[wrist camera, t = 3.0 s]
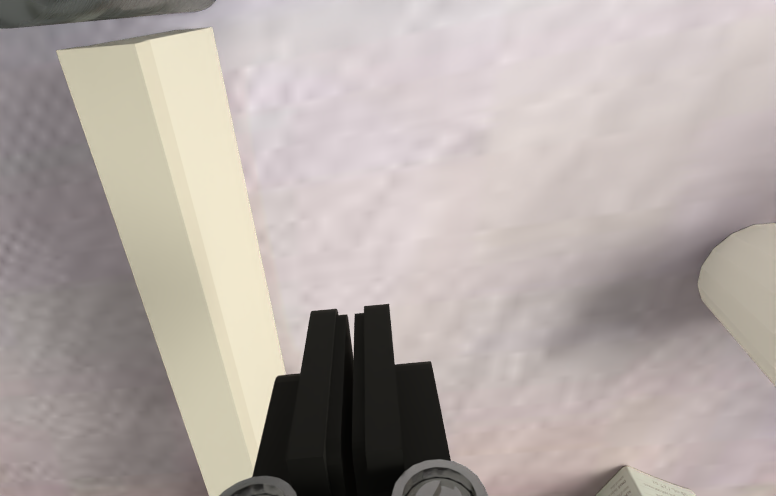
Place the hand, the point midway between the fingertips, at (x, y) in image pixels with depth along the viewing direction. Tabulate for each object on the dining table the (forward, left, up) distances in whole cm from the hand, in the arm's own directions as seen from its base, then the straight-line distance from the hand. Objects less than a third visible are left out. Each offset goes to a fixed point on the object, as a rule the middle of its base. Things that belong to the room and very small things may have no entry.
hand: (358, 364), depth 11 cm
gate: (+4, -6, -14) cm, 15 cm away
